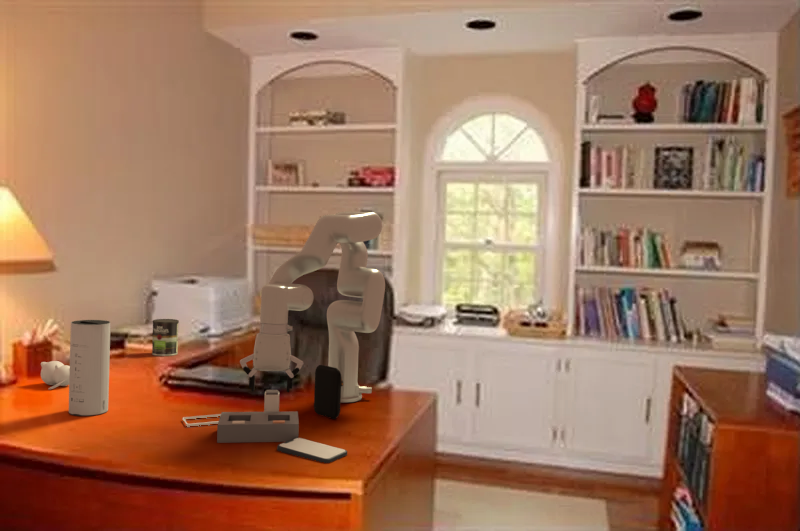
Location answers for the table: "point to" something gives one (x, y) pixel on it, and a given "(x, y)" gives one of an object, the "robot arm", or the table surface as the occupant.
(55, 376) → the cat figurine
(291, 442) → the phone case
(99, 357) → the speaker
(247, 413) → the hub
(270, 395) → the plug
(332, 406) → the carrying case or bag
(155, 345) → the coffee can
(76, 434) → the table surface
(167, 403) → the table surface
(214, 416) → the phone case
